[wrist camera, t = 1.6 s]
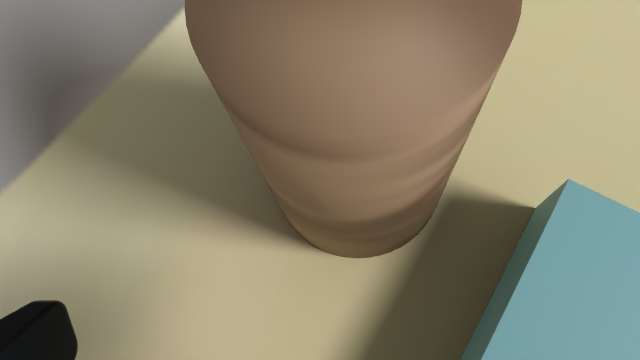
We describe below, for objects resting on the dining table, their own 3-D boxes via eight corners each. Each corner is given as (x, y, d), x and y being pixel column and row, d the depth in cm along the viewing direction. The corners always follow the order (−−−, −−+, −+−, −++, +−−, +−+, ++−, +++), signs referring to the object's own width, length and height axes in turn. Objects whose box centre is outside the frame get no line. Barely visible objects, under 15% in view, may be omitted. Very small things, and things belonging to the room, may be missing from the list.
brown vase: (389, 290, 20) (419, 203, 9) (246, 205, 22) (118, 42, 11) (469, 148, 22) (578, -75, 11) (330, 79, 24) (297, -176, 12)
